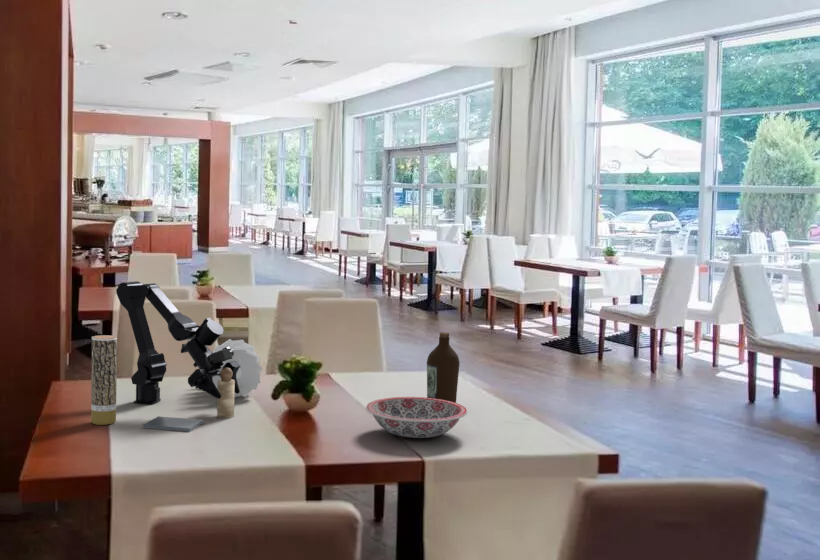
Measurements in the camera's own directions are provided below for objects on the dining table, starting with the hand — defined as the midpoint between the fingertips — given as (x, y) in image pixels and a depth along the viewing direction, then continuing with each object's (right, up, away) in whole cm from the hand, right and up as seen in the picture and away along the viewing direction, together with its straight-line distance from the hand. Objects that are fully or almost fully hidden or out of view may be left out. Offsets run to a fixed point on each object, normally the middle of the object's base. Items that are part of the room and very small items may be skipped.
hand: (229, 395), depth 269 cm
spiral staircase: (-5, -4, +34) cm, 35 cm away
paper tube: (-34, -7, -12) cm, 37 cm away
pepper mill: (-1, -6, +1) cm, 7 cm away
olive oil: (+65, -7, +22) cm, 69 cm away
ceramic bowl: (+56, -10, -12) cm, 58 cm away
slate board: (-14, -7, -12) cm, 20 cm away
